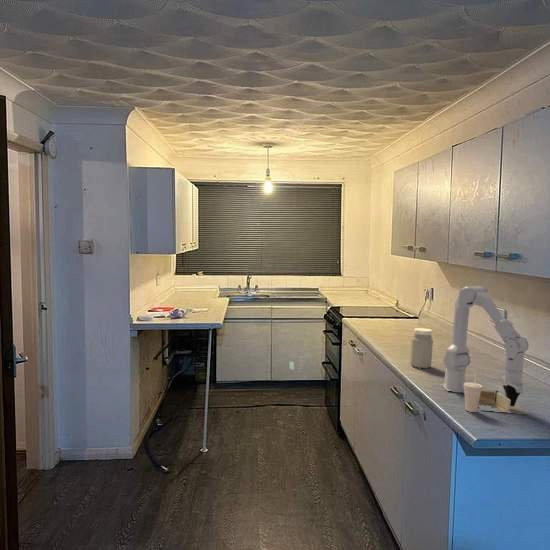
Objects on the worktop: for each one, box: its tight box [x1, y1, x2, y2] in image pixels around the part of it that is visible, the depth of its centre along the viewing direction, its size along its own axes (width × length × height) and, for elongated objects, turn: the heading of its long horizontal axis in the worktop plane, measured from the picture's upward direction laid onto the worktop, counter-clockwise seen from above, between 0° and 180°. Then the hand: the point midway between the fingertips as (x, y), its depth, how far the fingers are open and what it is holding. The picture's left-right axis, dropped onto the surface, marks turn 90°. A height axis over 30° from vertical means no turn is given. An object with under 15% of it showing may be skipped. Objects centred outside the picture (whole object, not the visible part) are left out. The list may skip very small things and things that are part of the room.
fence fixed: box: [479, 390, 499, 403], centre depth 189 cm, size 1×10×5 cm, turn 83°
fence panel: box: [496, 392, 511, 411], centre depth 184 cm, size 8×1×4 cm, turn 4°
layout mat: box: [477, 399, 528, 415], centre depth 187 cm, size 16×16×1 cm
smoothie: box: [464, 372, 483, 413], centre depth 179 cm, size 6×6×14 cm
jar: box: [409, 327, 434, 369], centre depth 238 cm, size 10×10×18 cm
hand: (510, 405), depth 183 cm, fingers closed
